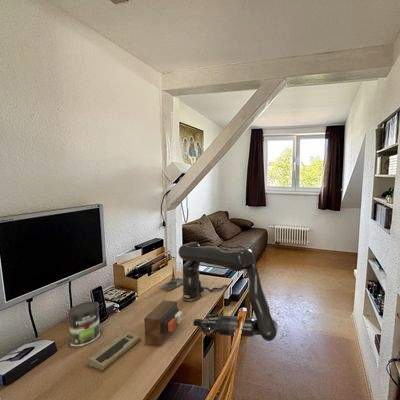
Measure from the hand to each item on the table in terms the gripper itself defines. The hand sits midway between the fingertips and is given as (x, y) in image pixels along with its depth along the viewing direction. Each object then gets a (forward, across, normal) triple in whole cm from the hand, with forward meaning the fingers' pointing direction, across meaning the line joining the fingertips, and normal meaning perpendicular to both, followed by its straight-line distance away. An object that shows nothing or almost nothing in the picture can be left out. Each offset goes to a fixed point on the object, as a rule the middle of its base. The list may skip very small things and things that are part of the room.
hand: (194, 322), depth 98 cm
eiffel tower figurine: (+35, -44, +7) cm, 57 cm away
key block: (+15, 0, +7) cm, 17 cm away
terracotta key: (+9, +3, +2) cm, 9 cm away
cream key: (+9, -2, +2) cm, 9 cm away
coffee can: (+47, +7, +7) cm, 48 cm away
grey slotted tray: (+28, +13, +7) cm, 31 cm away
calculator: (+57, -15, +7) cm, 60 cm away
